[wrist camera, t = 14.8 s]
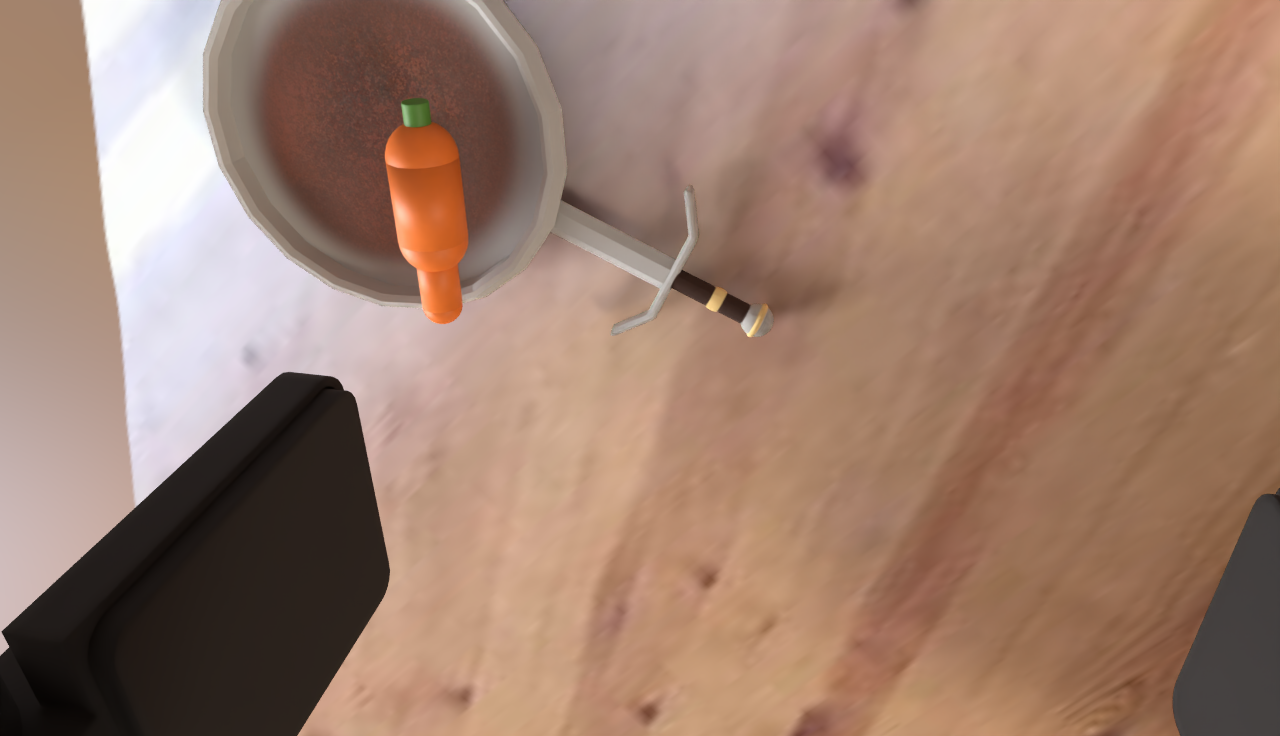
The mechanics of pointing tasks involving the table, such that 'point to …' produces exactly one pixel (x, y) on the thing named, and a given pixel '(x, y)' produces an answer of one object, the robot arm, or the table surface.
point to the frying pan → (371, 111)
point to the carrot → (428, 207)
